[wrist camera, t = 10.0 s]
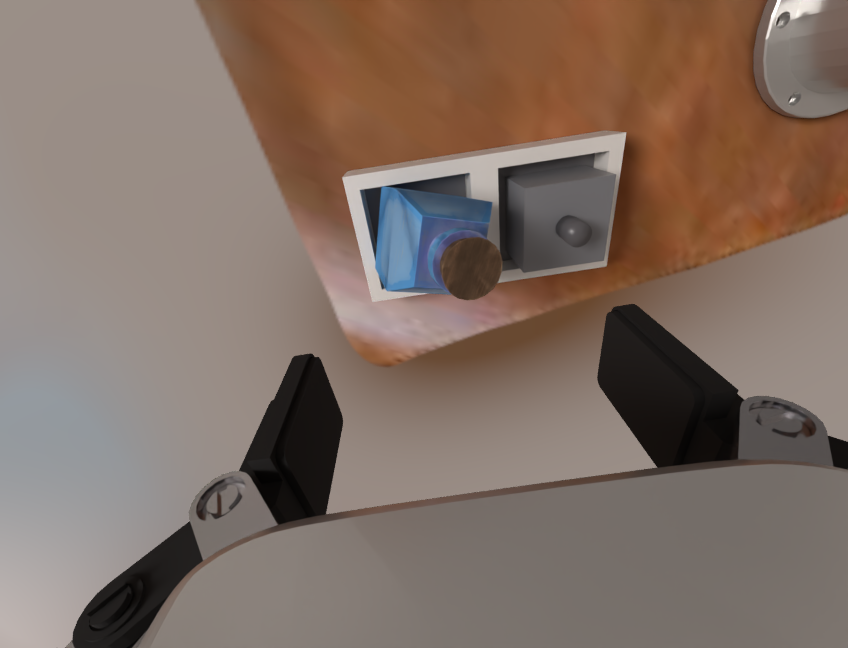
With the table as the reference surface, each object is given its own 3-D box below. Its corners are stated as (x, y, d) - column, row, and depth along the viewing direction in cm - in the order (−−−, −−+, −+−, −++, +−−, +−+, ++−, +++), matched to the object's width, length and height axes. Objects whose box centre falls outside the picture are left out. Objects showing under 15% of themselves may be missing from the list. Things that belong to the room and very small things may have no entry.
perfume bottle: (381, 185, 26) (419, 194, 15) (459, 196, 27) (543, 211, 17) (375, 267, 28) (404, 326, 17) (447, 272, 30) (514, 328, 19)
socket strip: (604, 130, 27) (626, 132, 24) (589, 254, 32) (606, 266, 29) (347, 171, 27) (342, 177, 24) (374, 286, 32) (372, 302, 30)
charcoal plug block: (581, 164, 27) (634, 179, 21) (574, 239, 30) (618, 271, 24) (504, 176, 27) (534, 194, 21) (505, 250, 30) (532, 284, 24)
